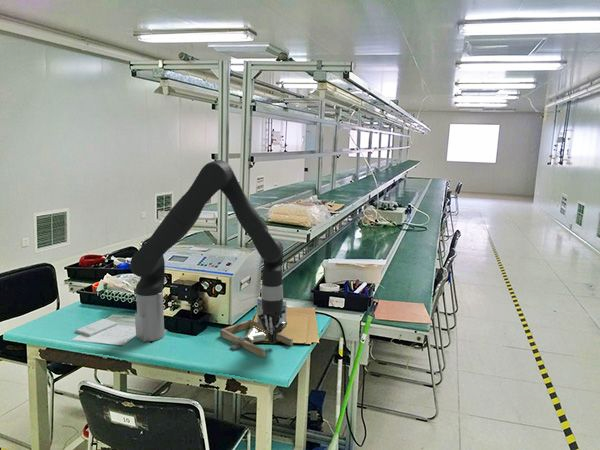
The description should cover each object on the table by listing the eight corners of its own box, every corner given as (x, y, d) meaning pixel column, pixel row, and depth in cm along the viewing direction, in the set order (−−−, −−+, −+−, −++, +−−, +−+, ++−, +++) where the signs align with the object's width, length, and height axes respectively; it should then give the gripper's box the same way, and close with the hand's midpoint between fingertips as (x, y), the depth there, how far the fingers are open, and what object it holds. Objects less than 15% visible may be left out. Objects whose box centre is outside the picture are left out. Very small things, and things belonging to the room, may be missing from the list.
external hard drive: (117, 326, 183) (90, 338, 172) (103, 322, 187) (75, 333, 176) (117, 322, 183) (90, 333, 172) (103, 318, 186) (75, 329, 175)
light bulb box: (286, 326, 184) (287, 300, 182) (274, 331, 180) (274, 304, 178) (269, 318, 192) (269, 293, 190) (256, 323, 187) (256, 297, 185)
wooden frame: (262, 357, 158) (262, 350, 157) (220, 335, 174) (220, 329, 174) (292, 345, 168) (292, 338, 167) (250, 325, 184) (250, 319, 184)
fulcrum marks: (234, 350, 163) (234, 343, 162) (229, 348, 165) (229, 340, 164) (280, 333, 178) (280, 326, 177) (274, 330, 180) (274, 324, 179)
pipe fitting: (266, 339, 174) (249, 336, 175) (267, 329, 173) (249, 326, 174) (260, 349, 166) (242, 345, 167) (261, 338, 165) (243, 335, 166)
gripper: (251, 294, 164) (252, 340, 167) (277, 303, 155) (277, 352, 158) (267, 289, 169) (267, 334, 173) (293, 298, 160) (293, 345, 164)
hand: (272, 342), depth 165 cm, fingers closed
